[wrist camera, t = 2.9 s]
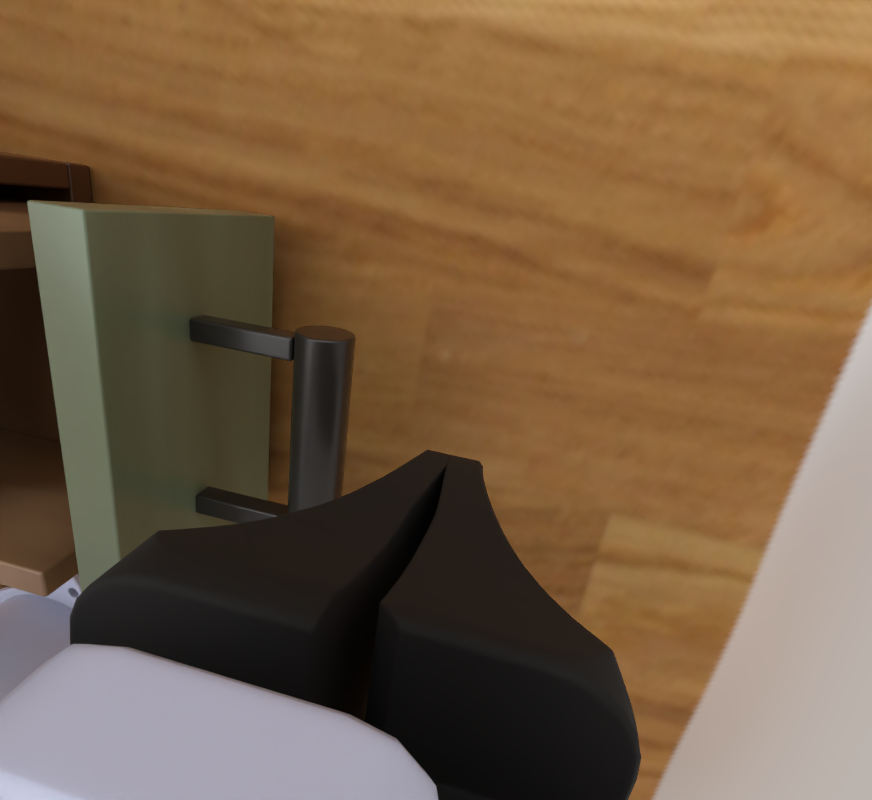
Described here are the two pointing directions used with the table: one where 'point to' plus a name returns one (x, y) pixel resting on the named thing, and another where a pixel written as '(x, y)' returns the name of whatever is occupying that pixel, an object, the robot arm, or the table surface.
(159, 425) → the drawer
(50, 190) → the cabinet
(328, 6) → the table surface
